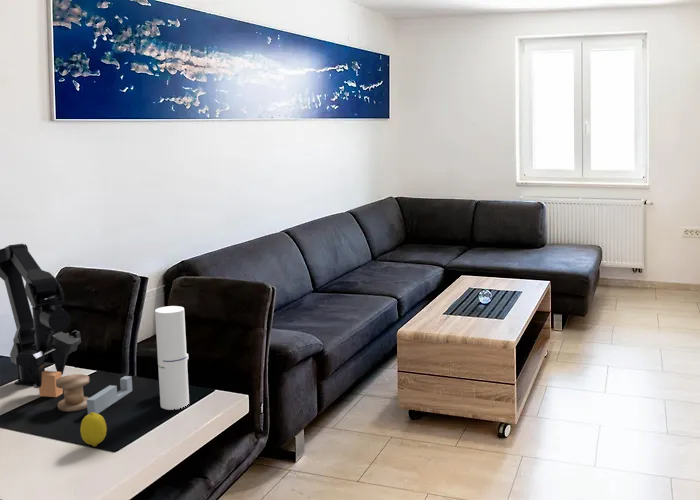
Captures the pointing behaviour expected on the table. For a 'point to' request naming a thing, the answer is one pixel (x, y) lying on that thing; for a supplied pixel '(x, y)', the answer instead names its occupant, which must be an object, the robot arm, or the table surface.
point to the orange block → (50, 384)
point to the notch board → (109, 395)
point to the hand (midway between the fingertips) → (50, 380)
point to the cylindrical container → (172, 357)
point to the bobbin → (73, 392)
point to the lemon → (93, 429)
